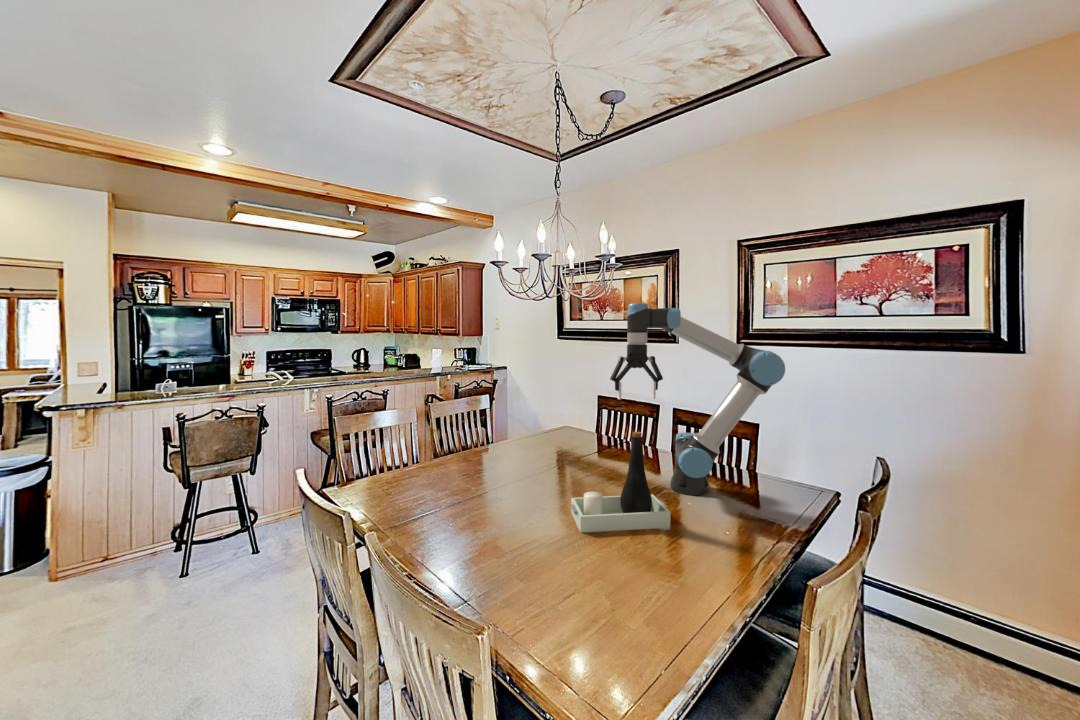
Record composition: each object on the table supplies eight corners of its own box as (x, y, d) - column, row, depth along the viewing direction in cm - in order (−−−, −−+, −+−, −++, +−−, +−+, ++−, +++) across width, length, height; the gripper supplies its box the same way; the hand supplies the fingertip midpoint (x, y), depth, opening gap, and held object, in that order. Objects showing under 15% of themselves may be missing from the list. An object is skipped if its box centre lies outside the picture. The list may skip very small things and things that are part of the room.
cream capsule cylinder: (599, 516, 158) (600, 491, 158) (604, 524, 152) (604, 498, 151) (581, 517, 158) (581, 492, 157) (585, 525, 151) (586, 499, 151)
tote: (655, 510, 166) (655, 494, 165) (673, 529, 150) (673, 512, 149) (568, 514, 162) (568, 498, 161) (577, 535, 146) (577, 516, 146)
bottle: (652, 526, 150) (654, 437, 148) (619, 523, 153) (620, 435, 150) (650, 513, 161) (652, 429, 158) (620, 511, 163) (621, 428, 160)
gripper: (664, 343, 180) (663, 396, 181) (602, 343, 177) (602, 397, 178) (672, 343, 172) (671, 399, 174) (608, 344, 169) (607, 401, 171)
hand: (636, 398), depth 176 cm, fingers open, 13 cm apart
